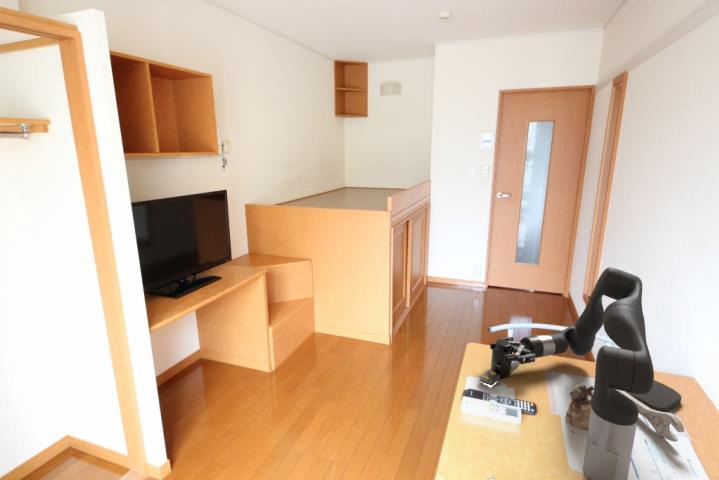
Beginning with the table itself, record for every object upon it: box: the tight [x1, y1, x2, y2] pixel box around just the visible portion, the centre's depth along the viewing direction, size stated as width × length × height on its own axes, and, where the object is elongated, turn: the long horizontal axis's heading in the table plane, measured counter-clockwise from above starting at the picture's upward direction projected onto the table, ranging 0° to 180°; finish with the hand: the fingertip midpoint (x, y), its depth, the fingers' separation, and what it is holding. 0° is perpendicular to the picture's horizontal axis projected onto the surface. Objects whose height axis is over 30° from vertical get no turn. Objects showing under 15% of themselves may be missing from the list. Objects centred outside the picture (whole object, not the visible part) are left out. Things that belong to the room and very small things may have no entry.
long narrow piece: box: [479, 361, 521, 385], centre depth 140 cm, size 21×4×3 cm, turn 134°
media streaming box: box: [626, 379, 682, 413], centre depth 126 cm, size 15×15×3 cm
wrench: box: [615, 389, 685, 442], centre depth 117 cm, size 8×2×30 cm
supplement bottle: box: [490, 339, 514, 379], centre depth 139 cm, size 7×7×12 cm
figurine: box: [564, 383, 594, 430], centre depth 114 cm, size 7×7×12 cm
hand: (497, 352), depth 137 cm, fingers open, 8 cm apart
